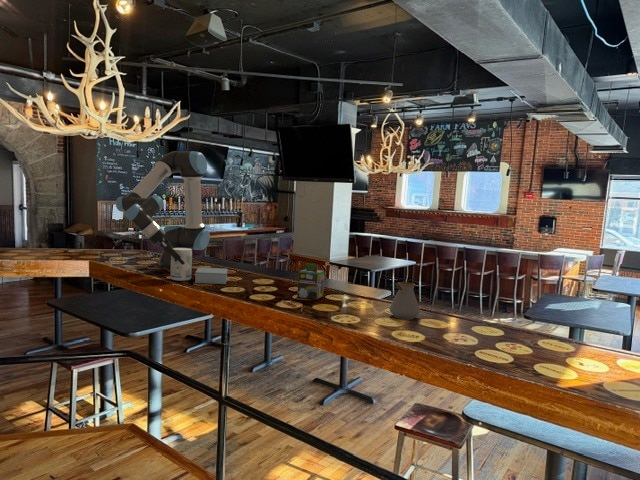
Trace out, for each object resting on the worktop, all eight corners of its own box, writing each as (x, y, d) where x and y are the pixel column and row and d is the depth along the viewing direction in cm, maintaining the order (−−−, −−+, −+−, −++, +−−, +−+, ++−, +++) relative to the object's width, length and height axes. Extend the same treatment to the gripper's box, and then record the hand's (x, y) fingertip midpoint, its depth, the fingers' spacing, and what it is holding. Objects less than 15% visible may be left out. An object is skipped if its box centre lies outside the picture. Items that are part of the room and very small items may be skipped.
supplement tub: (186, 277, 217) (187, 247, 216) (194, 280, 209) (195, 249, 208) (166, 278, 210) (168, 247, 209) (174, 281, 203) (175, 250, 202)
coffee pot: (393, 311, 173) (397, 274, 172) (422, 316, 168) (426, 278, 167) (375, 322, 154) (378, 280, 153) (407, 328, 149) (411, 285, 148)
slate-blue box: (197, 277, 218) (198, 267, 218) (226, 278, 221) (227, 268, 220) (194, 282, 203) (195, 272, 203) (226, 284, 206) (226, 273, 206)
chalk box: (323, 296, 193) (325, 263, 192) (316, 300, 184) (319, 265, 183) (303, 293, 196) (306, 261, 195) (296, 297, 187) (298, 263, 186)
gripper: (148, 236, 213) (180, 269, 220) (147, 240, 193) (183, 276, 199) (160, 226, 215) (192, 258, 222) (160, 229, 194) (195, 265, 201)
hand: (187, 267), depth 211 cm, fingers closed on supplement tub, 9 cm apart
